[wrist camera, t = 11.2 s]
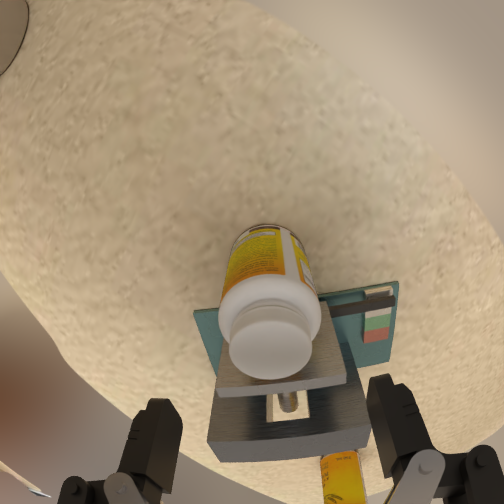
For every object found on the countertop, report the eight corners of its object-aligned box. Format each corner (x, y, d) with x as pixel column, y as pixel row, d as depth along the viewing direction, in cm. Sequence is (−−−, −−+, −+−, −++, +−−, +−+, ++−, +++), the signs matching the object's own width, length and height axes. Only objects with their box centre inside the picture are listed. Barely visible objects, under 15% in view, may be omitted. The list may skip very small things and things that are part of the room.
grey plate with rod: (227, 314, 24) (215, 388, 17) (391, 289, 23) (429, 353, 16) (245, 377, 27) (241, 445, 20) (383, 356, 26) (407, 419, 19)
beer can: (315, 453, 36) (323, 540, 23) (355, 442, 35) (370, 530, 22) (324, 465, 39) (331, 543, 25) (360, 456, 37) (373, 534, 24)
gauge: (193, 310, 25) (166, 399, 16) (397, 281, 23) (447, 359, 15) (220, 382, 29) (209, 462, 20) (387, 358, 27) (416, 433, 19)
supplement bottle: (218, 268, 23) (192, 365, 14) (253, 208, 21) (246, 284, 12) (279, 299, 24) (286, 400, 15) (319, 245, 22) (353, 336, 13)
